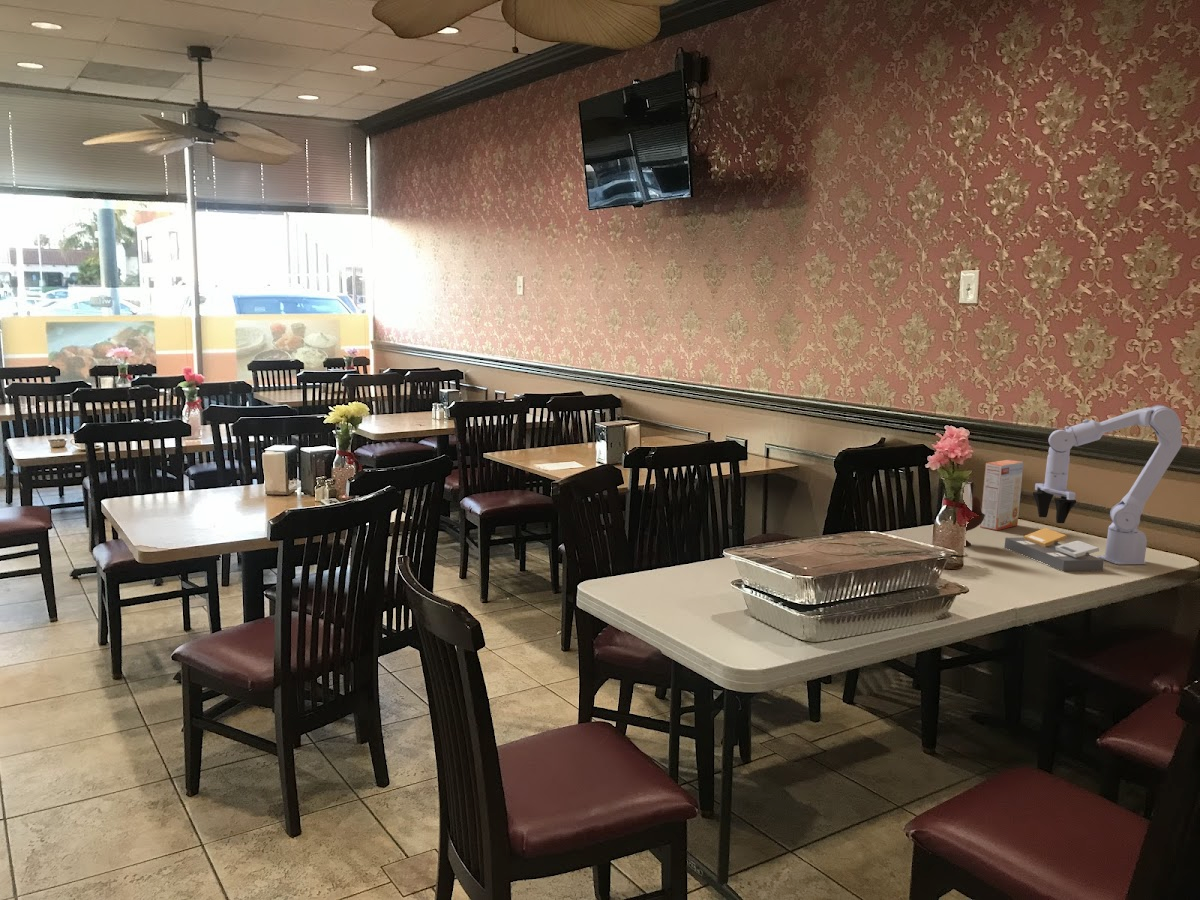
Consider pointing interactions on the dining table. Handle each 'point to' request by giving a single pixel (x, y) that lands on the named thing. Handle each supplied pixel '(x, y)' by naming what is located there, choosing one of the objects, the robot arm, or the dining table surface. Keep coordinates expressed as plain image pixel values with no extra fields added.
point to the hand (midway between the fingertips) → (1051, 520)
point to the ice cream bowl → (976, 520)
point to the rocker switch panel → (1054, 556)
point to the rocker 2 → (1077, 549)
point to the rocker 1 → (1045, 537)
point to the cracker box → (1001, 494)
